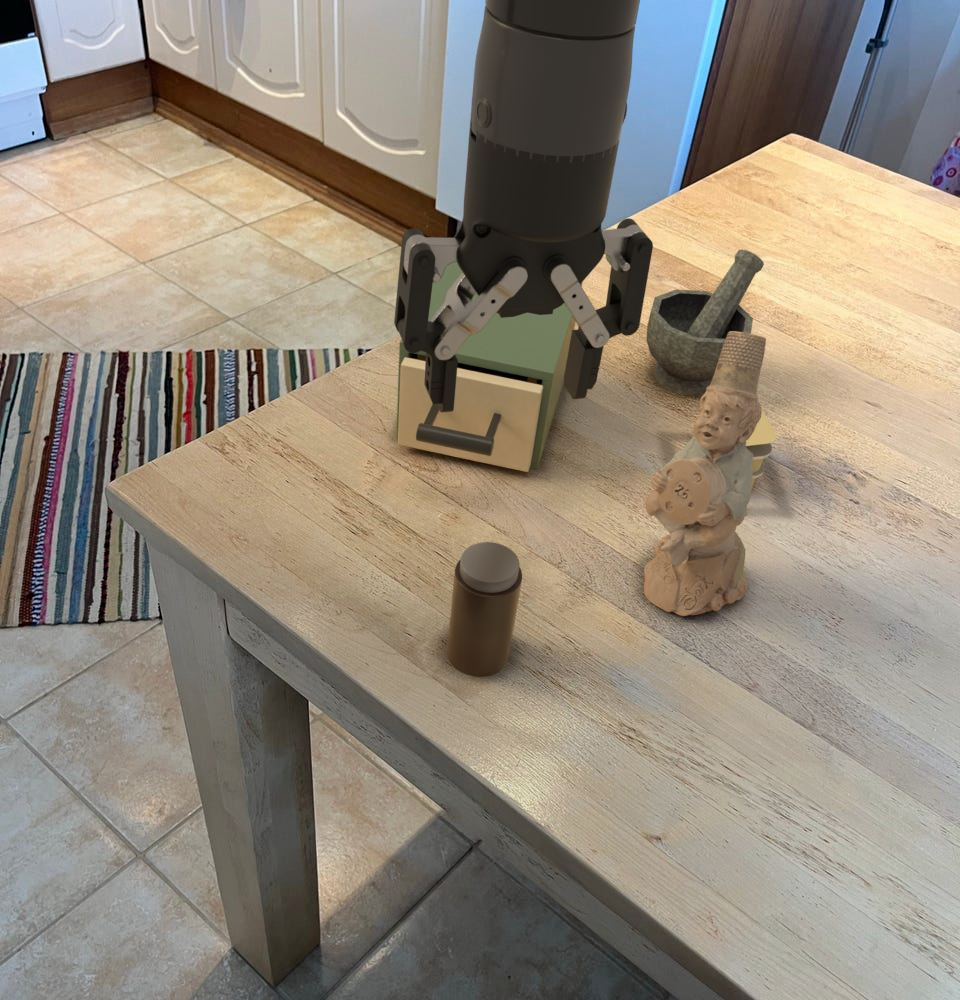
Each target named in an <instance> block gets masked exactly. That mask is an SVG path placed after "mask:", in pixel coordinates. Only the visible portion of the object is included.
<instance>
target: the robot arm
mask: <svg viewBox="0 0 960 1000" xmlns="http://www.w3.org/2000/svg"><path fill="white" fill-rule="evenodd" d="M484 1H485V2H484V3H485V6H484V9H483V10H484V12H483V19H482V23H481V24H482V25H481V30H480V36H479V38H478V43H477V49H476V54H475V59H474V69H473V80H472V82H473V83H472V85H473V86H472V94H471V106H470V107H471V108H470V120H469V131H468V146H467V158H466V170H465V182H464V183H465V184H464V192H463V193H464V195H463V215H462V220H461V223H460V226H459V228H458V229H457V231H456V233H455V234H454V236H453V237H432V236H431V237H429V236H428V237H426V236H425V235H424V234H423V232H422V231H421V230H420V229H418V228H409V229H407V230H405V232H404V234H403V235H402V238H401V244H400V245H401V246H400V247H401V248H400V257H399V268H398V277H397V289H396V299H395V310H394V319H393V325H394V326H395V327H394V328H395V329H396V331H397V332H398V333H399V336H400V338H401V339H402V342H403V345H404V347H405V349H406V350H407V351H408V352H410V353H417V352H419V351H423V352H426V363H425V380H424V385H425V387H426V390H427V392H428V394H429V396H430V399H431V401H432V403H433V404H437V405H438V408H439V410H440V412H441V413H442V412H453V410H454V400H455V388H456V376H457V365H458V360H457V358H456V356H455V353H456V352H457V351H458V349H459V348H460V347H461V346H462V345H463V344H464V342H465V341H466V340H467V339H468V338H469V336H470V335H472V334H477V333H479V332H480V331H481V330H482V329H483V328H484V327H485V325H486V324H487V323H488V322H489V321H490V319H491V318H492V317H493V316H494V315H495V314H496V313H498V314H499V315H500V317H501V318H505V317H515V316H518V315H521V314H524V313H532V314H537V315H547V314H553V310H554V309H556V308H558V307H560V306H561V305H563V304H565V305H566V307H567V308H568V310H569V312H570V313H571V315H572V316H573V318H574V319H575V321H576V322H575V324H577V329H574V330H572V334H571V340H570V345H569V351H568V356H567V362H566V368H565V373H564V383H563V386H564V388H565V389H566V391H567V392H568V394H569V396H570V397H571V399H572V400H581V399H585V398H586V397H587V394H588V390H593V388H594V386H595V385H596V383H597V380H598V375H599V374H598V373H599V371H600V366H601V361H602V356H603V351H604V347H605V346H606V345H607V344H608V342H609V341H610V339H612V338H613V337H617V336H618V335H623V336H624V337H625V336H626V337H628V336H629V337H630V336H632V335H634V334H635V333H636V332H637V331H638V330H639V328H640V325H641V319H642V313H643V307H644V301H645V296H646V289H647V285H648V284H647V283H648V278H649V272H650V266H651V261H652V255H653V249H654V243H653V241H652V240H651V238H650V237H648V236H649V235H647V234H646V232H644V230H643V228H641V227H640V226H639V225H638V223H637V222H636V221H635V220H634V219H633V218H624V219H623V220H621V221H620V222H619V223H618V225H617V227H616V228H613V229H604V230H602V223H603V222H604V220H605V218H606V215H607V209H608V203H609V199H610V193H611V188H612V183H613V177H614V172H615V167H616V161H617V155H618V150H619V145H620V140H621V135H622V130H623V129H622V128H623V124H624V123H625V119H626V117H627V112H628V96H629V90H630V87H631V86H630V85H631V79H632V68H633V52H634V51H633V49H634V38H635V32H636V31H635V30H636V24H637V18H638V15H639V9H640V3H641V0H484ZM604 255H605V259H606V261H607V262H608V264H609V265H610V272H609V280H608V287H607V294H606V301H605V306H602V307H600V308H595V306H594V304H593V303H592V302H591V300H590V298H589V296H588V295H587V293H586V292H585V290H584V288H583V286H582V287H581V285H580V284H581V283H583V282H584V281H585V280H586V279H587V278H588V276H589V275H590V274H591V273H592V272H593V270H595V268H596V267H597V265H598V264H599V263H600V262H601V261H602V259H603V257H604ZM454 262H457V263H458V266H459V267H460V269H461V271H462V273H461V275H460V276H459V277H458V278H457V280H456V281H455V282H454V283H453V284H452V286H451V287H450V288H449V289H448V291H447V293H446V296H445V301H444V303H443V304H442V305H441V306H440V308H439V309H438V310H437V311H436V313H435V314H434V315H433V316H432V317H431V319H430V320H429V321H428V317H429V309H430V301H431V292H432V284H433V282H435V283H437V282H439V281H440V280H441V278H442V276H443V274H444V270H445V268H446V267H447V266H448V265H449V264H451V263H454ZM475 293H477V294H478V296H479V297H478V298H477V299H476V300H475V301H474V303H473V304H472V298H473V296H474V294H475Z"/></svg>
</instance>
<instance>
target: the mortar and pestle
mask: <svg viewBox="0 0 960 1000" xmlns="http://www.w3.org/2000/svg"><path fill="white" fill-rule="evenodd" d="M764 266H765V264H764V261H763V260H762V259H761V258H760V257H759V256H758V255H757V254H755V253H754V252H752V251H750V250H747V249H738V250H737V252H736V253H735V254H734V262H733V263H732V265H731V266H730V268H729V269H728V271H727V272H726V273H725V275H724V276H723V278H722V280H721V281H720V283H719V284H718V285H717V287H715V289H714V292H711V291H707V290H694V289H679V288H678V289H674V290H671V291H667V292H665V293H663V294H660V295H657V296H655V297H654V299H653V302H652V306H651V310H650V314H649V316H648V321H647V325H646V339H645V341H646V343H647V347H648V351H649V354H650V355H651V356H652V357H653V358H654V360H655V361H656V365H655V369H654V371H653V378H654V379H655V380H656V381H657V383H658V384H659V385H660V386H661V388H663V389H666V390H668V391H670V392H673V393H676V394H678V395H680V396H700V397H702V396H703V394H705V392H706V388H707V387H708V386H710V384H711V381H712V378H713V376H714V373H715V370H716V367H717V364H718V361H719V357H720V354H721V351H722V347H723V345H724V342H725V339H726V337H727V334H728V332H730V331H735V332H736V331H737V332H744V333H749V334H752V329H753V321H754V318H753V316H751V315H750V314H749V312H747V311H746V310H745V309H744V308H743V307H742V306H741V305H740V303H741V302H742V300H743V298H744V297H745V295H746V293H747V290H748V289H749V287H750V285H751V283H752V281H753V279H754V278H755V275H757V274H758V273H759V272H761V271H762V269H763V267H764Z"/></svg>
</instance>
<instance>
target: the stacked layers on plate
mask: <svg viewBox="0 0 960 1000" xmlns="http://www.w3.org/2000/svg"><path fill="white" fill-rule="evenodd" d="M761 410H762V415H761V419H760V420H759V422H758V423H757V424H756V428H755V430H754V432H753V433H752V435H751V436H750V438H749V439H748V440H746V446H745V447H746V448H747V449H748V450H749V451H750V452H751V453H753V465H752V466H753V477H752V485H751V490H752V489H753V488H754V485H755V482H756V479H757V478H759V477H761V476H762V475H763V474H764V471H765V464H764V463H763V461H764V459H765V458H768V457H769V456H771V453H772V450H773V446H772V443H773V442H774V441H776V440H777V436H778V435H777V431H776V430H775V429H774V427H773V425H772V424H771V422H770V420H769V419H768V417H767V415H766V414H765V412H764V410H763V409H761Z"/></svg>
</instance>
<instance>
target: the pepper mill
mask: <svg viewBox="0 0 960 1000" xmlns="http://www.w3.org/2000/svg"><path fill="white" fill-rule="evenodd" d="M520 565H521V564H520V560H519V557H518V556H517V554H516V552H514V551H513V550H512V549H511V548H510V547H507V546H506V545H504V544H501V543H497V542H493V541H492V542H491V541H483V542H478V543H477V542H476V543H474V544H472V545H470V546H468V547H466V549H464V551H463V552H462V553H461V556H460V559H459V560H458V561H457V563H456V565H455V568H454V574H453V583H452V584H453V585H452V594H451V603H450V604H451V605H450V614H449V625H448V634H447V643H446V657H447V660H448V661H449V663H450V665H452V667H453V668H454V669H456V670H457V671H458V672H460V673H462V674H464V675H467V676H471V677H475V678H485V677H490V676H493V675H496V674H498V673H499V672H501V671H502V670H503V669H505V667H506V665H507V664H508V661H509V658H510V652H511V646H512V641H513V634H514V628H515V623H516V617H517V611H518V604H519V600H520V594H521V588H522V582H523V571H522V569H521V567H520Z"/></svg>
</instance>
